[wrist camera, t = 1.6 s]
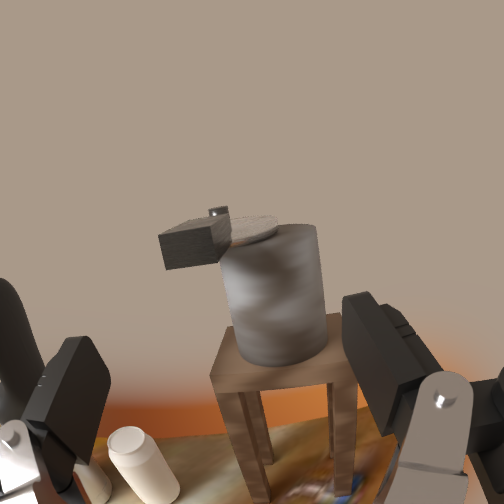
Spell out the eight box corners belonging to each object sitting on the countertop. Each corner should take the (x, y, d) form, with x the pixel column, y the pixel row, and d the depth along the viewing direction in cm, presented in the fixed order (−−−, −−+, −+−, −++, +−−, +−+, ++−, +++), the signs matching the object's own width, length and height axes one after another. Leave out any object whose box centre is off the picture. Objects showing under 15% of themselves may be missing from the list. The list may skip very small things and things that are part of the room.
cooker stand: (254, 503, 29) (179, 258, 22) (259, 455, 37) (207, 235, 30) (350, 494, 27) (349, 233, 20) (343, 446, 36) (330, 216, 29)
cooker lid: (121, 281, 17) (110, 238, 17) (188, 236, 31) (182, 211, 30) (276, 260, 16) (268, 210, 15) (279, 222, 30) (275, 195, 29)
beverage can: (137, 507, 28) (96, 455, 25) (145, 476, 34) (111, 422, 31) (179, 510, 28) (143, 458, 25) (184, 477, 34) (154, 422, 31)
